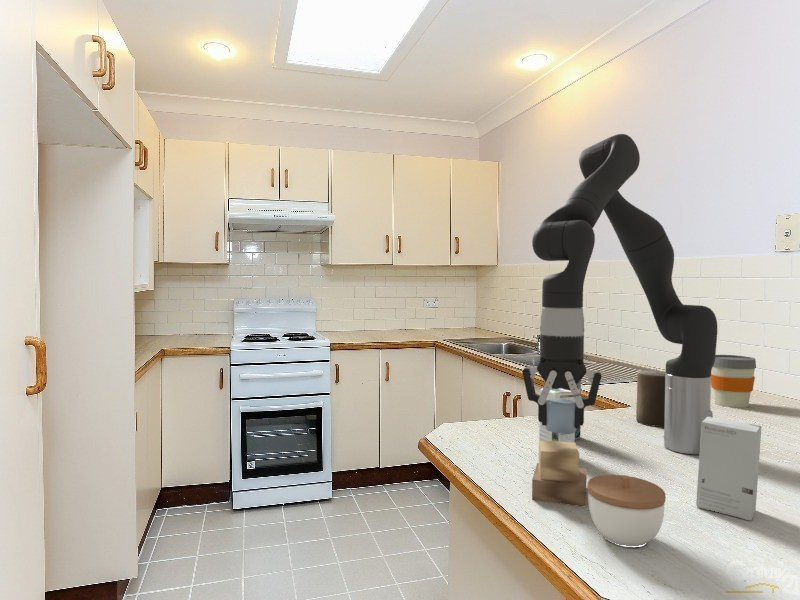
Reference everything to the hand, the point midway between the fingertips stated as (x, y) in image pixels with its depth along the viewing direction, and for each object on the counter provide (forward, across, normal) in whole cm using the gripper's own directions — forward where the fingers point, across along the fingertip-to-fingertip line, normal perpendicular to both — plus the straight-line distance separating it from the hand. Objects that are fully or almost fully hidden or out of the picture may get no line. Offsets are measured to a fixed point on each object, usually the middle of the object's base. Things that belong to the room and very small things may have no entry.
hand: (560, 425), depth 95 cm
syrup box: (+13, +2, -23) cm, 26 cm away
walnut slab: (+13, 0, 0) cm, 13 cm away
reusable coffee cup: (+13, -47, -92) cm, 104 cm away
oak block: (+9, 0, 0) cm, 9 cm away
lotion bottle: (+13, 0, -37) cm, 39 cm away
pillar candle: (+13, -22, -60) cm, 65 cm away
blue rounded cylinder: (+1, 0, 0) cm, 1 cm away
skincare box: (+13, -27, -3) cm, 30 cm away
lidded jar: (+13, -10, +14) cm, 21 cm away
